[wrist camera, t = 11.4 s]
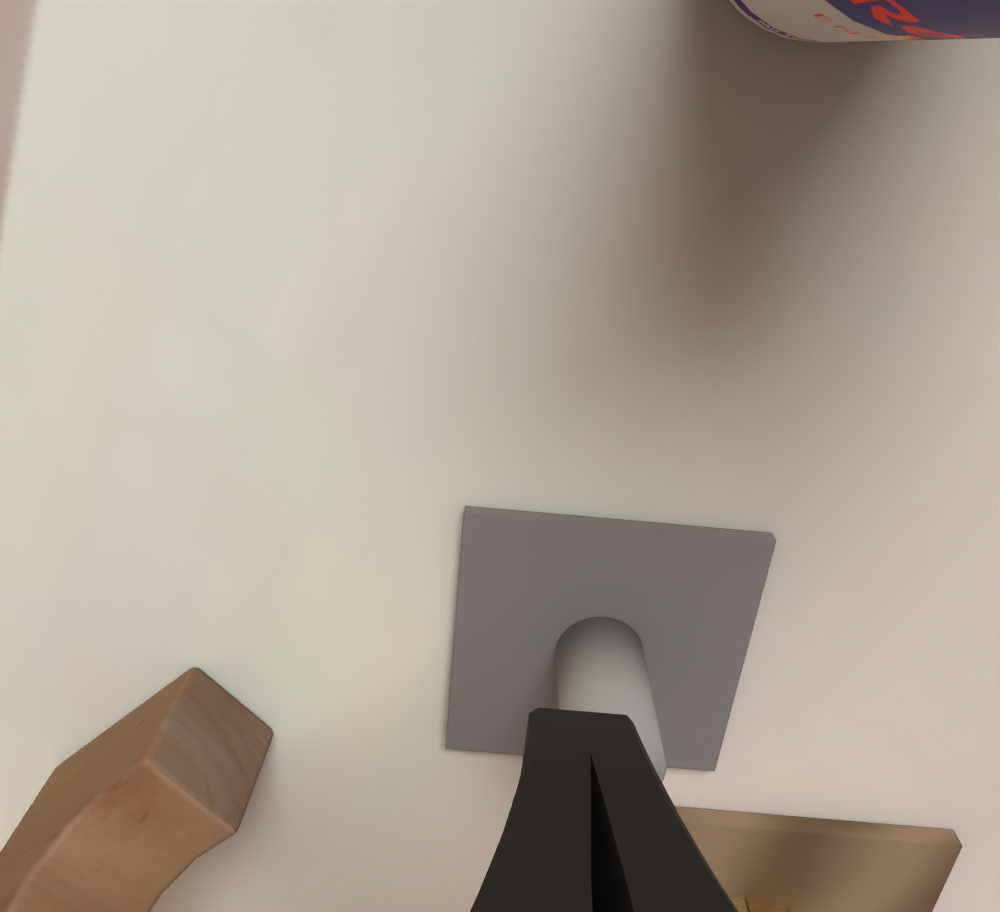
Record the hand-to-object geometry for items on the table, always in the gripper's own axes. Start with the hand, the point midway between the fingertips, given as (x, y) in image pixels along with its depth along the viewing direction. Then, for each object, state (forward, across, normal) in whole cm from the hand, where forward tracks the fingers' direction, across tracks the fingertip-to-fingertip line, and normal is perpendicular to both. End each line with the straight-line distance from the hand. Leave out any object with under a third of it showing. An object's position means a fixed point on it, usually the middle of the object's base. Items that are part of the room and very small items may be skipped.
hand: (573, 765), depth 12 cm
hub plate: (+10, -8, +18) cm, 22 cm away
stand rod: (+10, -2, +6) cm, 12 cm away
